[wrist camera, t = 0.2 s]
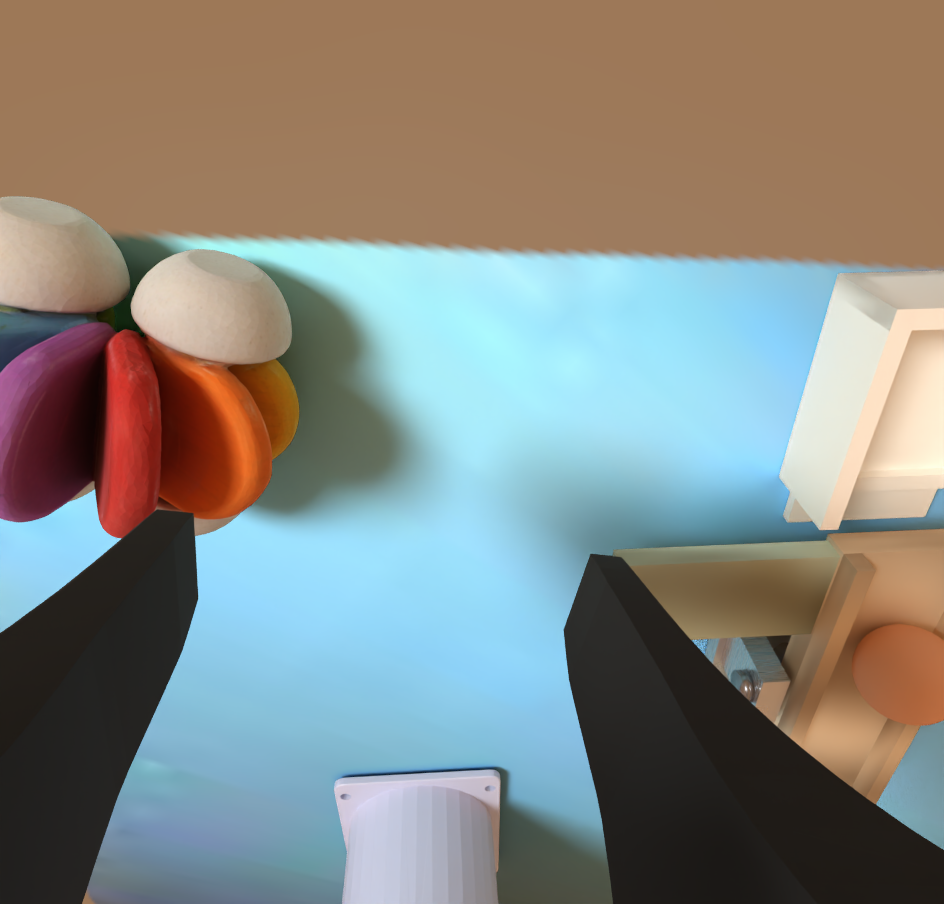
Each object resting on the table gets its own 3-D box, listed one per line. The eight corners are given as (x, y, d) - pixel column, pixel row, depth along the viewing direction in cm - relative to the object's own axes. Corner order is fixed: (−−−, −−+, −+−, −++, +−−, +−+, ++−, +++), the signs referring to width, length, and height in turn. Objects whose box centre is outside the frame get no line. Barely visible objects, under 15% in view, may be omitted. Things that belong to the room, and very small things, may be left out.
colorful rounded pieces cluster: (282, 498, 23) (230, 664, 17) (-23, 426, 21) (-205, 588, 15) (337, 271, 19) (295, 387, 13) (-35, 154, 17) (-293, 227, 11)
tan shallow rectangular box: (933, 509, 25) (989, 564, 23) (767, 516, 25) (805, 571, 22) (1044, 267, 20) (1131, 302, 18) (838, 273, 20) (897, 309, 17)
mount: (889, 656, 30) (944, 733, 27) (699, 666, 29) (732, 745, 26) (930, 573, 27) (997, 647, 24) (721, 582, 27) (760, 659, 23)
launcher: (833, 742, 31) (874, 815, 28) (574, 757, 31) (588, 832, 28) (946, 502, 24) (1017, 568, 21) (604, 516, 23) (628, 586, 20)
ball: (908, 664, 25) (966, 743, 22) (823, 669, 24) (871, 749, 22) (940, 602, 23) (1008, 679, 20) (848, 606, 23) (905, 684, 20)
